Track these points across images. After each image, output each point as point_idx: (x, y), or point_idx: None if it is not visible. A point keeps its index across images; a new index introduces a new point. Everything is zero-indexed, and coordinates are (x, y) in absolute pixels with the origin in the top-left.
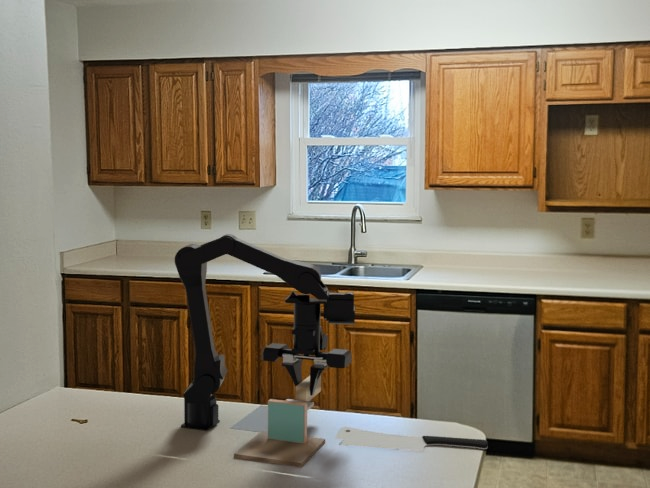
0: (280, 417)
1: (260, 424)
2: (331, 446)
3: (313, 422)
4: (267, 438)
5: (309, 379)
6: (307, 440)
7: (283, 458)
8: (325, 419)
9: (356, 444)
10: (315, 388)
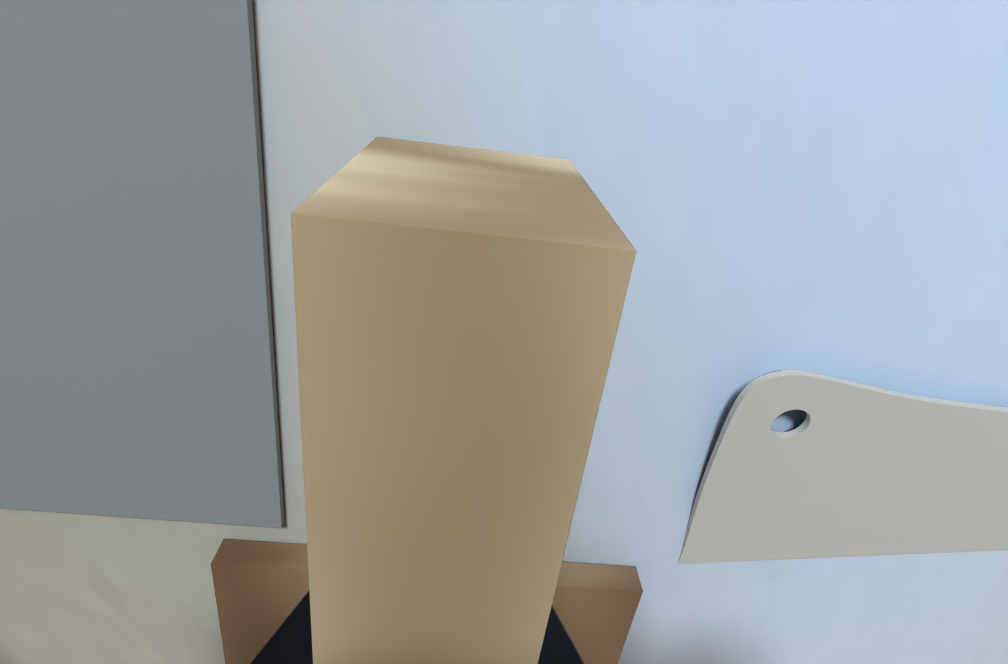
0: None
1: (101, 401)
2: (673, 588)
3: None
4: None
5: (408, 599)
6: None
7: None
8: (580, 107)
9: (820, 546)
10: (568, 643)
